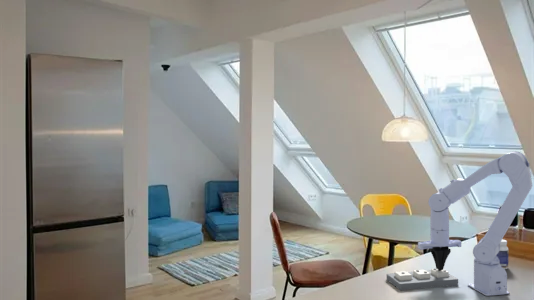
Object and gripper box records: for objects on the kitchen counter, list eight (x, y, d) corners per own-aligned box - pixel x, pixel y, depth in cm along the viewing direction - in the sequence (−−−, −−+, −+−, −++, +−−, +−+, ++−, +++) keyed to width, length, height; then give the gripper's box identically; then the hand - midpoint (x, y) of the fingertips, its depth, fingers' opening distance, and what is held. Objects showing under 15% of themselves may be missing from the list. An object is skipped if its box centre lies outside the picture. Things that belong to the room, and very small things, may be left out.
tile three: (448, 277, 146) (448, 271, 146) (437, 278, 146) (437, 272, 146) (442, 273, 150) (442, 267, 150) (431, 274, 150) (431, 268, 150)
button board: (458, 285, 144) (458, 279, 144) (400, 290, 141) (400, 283, 141) (441, 275, 154) (441, 269, 154) (386, 279, 150) (386, 273, 150)
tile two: (430, 279, 145) (430, 272, 145) (418, 280, 145) (418, 273, 145) (424, 275, 149) (424, 268, 149) (413, 276, 149) (412, 269, 149)
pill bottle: (511, 269, 158) (511, 242, 157) (495, 270, 158) (495, 242, 157) (503, 264, 163) (503, 238, 163) (487, 265, 164) (487, 238, 163)
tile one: (411, 280, 144) (411, 274, 144) (400, 281, 144) (400, 275, 144) (405, 276, 148) (405, 270, 148) (394, 277, 148) (394, 271, 148)
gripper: (452, 224, 152) (452, 264, 153) (413, 227, 150) (413, 267, 151) (465, 229, 145) (465, 270, 146) (424, 232, 143) (424, 273, 144)
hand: (439, 269), depth 148 cm, fingers closed
